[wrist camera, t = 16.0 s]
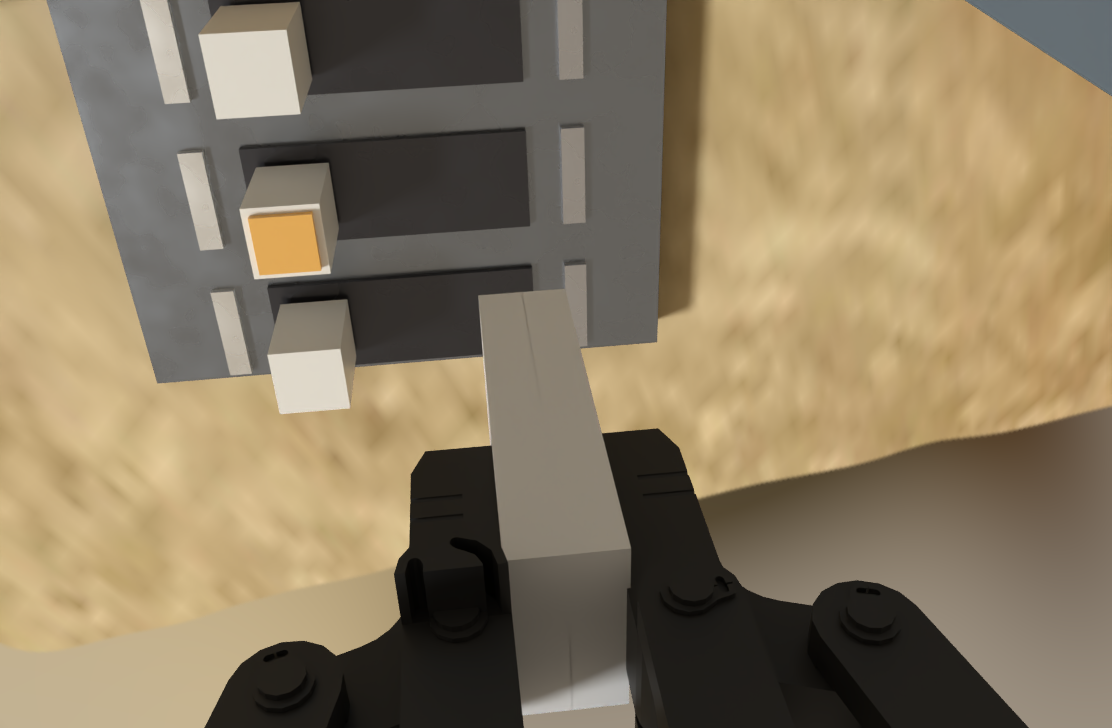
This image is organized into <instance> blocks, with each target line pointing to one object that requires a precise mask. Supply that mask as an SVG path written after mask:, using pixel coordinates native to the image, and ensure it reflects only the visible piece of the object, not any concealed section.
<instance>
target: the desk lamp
mask: <svg viewBox="0 0 1112 728" xmlns="http://www.w3.org/2000/svg"><path fill="white" fill-rule="evenodd" d="M965 1H967V2H968V3H970V4H971V5H973V6H974V7H976V8H977V9H979V10H980V11H982V12H983V13H985V14H987V15H988V16H990V17H991V18H993V19H994V20H996V21H997V22H999V23H1000V24H1002V25H1003V26H1005V27H1006V28H1008V29H1010V30H1011V31H1013V32H1014V33H1016V34H1017V35H1019V36H1020V37H1022V38H1023V39H1025V40H1026V41H1028V42H1029V43H1031V44H1032V45H1034V46H1036V47H1037V48H1039V49H1040V50H1042V51H1043V52H1045V53H1046V54H1048V55H1049V56H1051V57H1052V58H1054V59H1055V60H1057V61H1059V62H1060V63H1062V64H1063V65H1065V66H1066V67H1068V68H1069V69H1071V70H1072V71H1074V72H1075V73H1077V74H1078V75H1080V76H1081V77H1083V78H1085V79H1086V80H1088V81H1089V82H1091V83H1092V84H1094V85H1095V86H1097V87H1098V88H1100V89H1101V90H1103V91H1104V92H1106V93H1108V94H1109V95H1111V96H1112V0H965Z"/></svg>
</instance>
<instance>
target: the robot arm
mask: <svg viewBox="0 0 1112 728" xmlns="http://www.w3.org/2000/svg"><path fill="white" fill-rule="evenodd" d="M478 299H479V311H480V324H481V336H482V349H483V361H484V374H485V386H486V399H487V411H488V424H489V435H490V446H482V447H470V448H459V449H448V450H437V451H426V452H425V453H424V455H423V456H422V458H421V459H420V461H419V462H418V464H417V466H416V467H415V469H414V470H413V472H412V473H411V497H410V499H411V504H410V545H409V548H408V549H407V551H406V552H405V553H404V554H403V555H402V556H401V557H400V558H399V560H398V563H397V566H396V570H395V573H394V577H395V584H396V590H397V596H398V603H399V609H400V615H401V617H400V619H399V620H398V621H397V622H396V623H395V625H393V627H392V628H391V629H390V630H389V631H387V632H386V633H384V634H383V635H382V636H380V637H379V638H378V639H376V640H374V641H372V642H370V643H368V644H366V645H364V646H362V647H359V648H357V649H354V650H351V651H348V652H346V653H343V654H340V655H338V656H335V655H334V654H333V653H332V652H330V651H329V650H328V649H327V648H325V647H324V646H322V645H318V644H314V643H310V642H307V641H296V642H295V641H294V642H282V643H279V644H276V645H273V646H271V647H268V648H265V649H262V650H260V651H258V652H257V653H256V654H254V655H253V656H251V657H250V658H249V659H247V660H246V661H244V662H243V663H242V664H241V665H240V666H239V667H238V669H237V670H236V671H235V673H234V674H233V675H232V676H231V678H230V679H229V680H228V682H227V684H226V686H225V688H224V690H223V692H222V694H221V696H220V698H219V700H218V702H217V704H216V706H215V708H214V710H213V712H212V714H211V716H210V718H209V720H208V722H207V724H206V726H205V728H524V726H523V716H522V715H530V714H539V713H549V712H558V711H566V710H576V709H584V708H594V707H603V706H612V705H621V704H629V685H630V690H631V694H632V699H633V704H634V708H635V728H1028V727H1027V725H1026V724H1025V723H1024V722H1023V721H1022V720H1021V719H1020V718H1019V717H1018V716H1017V715H1016V713H1015V712H1014V711H1012V709H1011V708H1010V707H1009V706H1008V705H1007V704H1006V703H1005V701H1004V700H1003V699H1002V698H1001V697H1000V696H999V695H998V694H997V693H996V692H995V691H994V689H993V688H991V686H990V685H989V684H988V683H987V682H986V681H985V680H984V679H983V677H981V675H980V674H979V673H978V672H977V671H976V670H975V669H974V668H973V667H972V666H971V664H970V663H969V662H968V661H967V660H966V659H965V658H964V657H963V656H962V655H961V654H960V652H959V651H958V650H957V649H956V648H955V647H954V646H953V645H952V644H951V643H950V642H949V641H948V639H947V638H946V637H945V636H944V635H943V634H942V633H941V632H940V631H939V630H938V629H937V628H936V626H935V625H934V624H933V623H932V622H931V621H930V620H929V619H928V618H927V617H926V616H925V614H924V613H923V612H922V611H921V610H920V609H919V608H918V607H917V606H916V605H915V604H914V603H913V602H911V601H910V600H909V599H907V598H906V597H905V596H904V595H902V594H901V593H900V592H898V591H895V590H893V589H891V588H888V587H886V586H884V585H881V584H878V583H871V582H864V581H858V580H857V581H849V582H842V583H837V584H835V585H833V586H831V587H829V588H827V589H825V590H824V591H822V592H821V593H820V595H819V596H818V598H817V599H816V601H815V602H814V603H813V606H811V605H805V604H798V603H791V602H784V601H778V600H774V599H770V598H766V597H762V596H760V595H757V594H755V593H753V592H750V591H748V590H747V589H745V588H744V587H742V586H741V584H740V583H739V581H738V580H737V578H736V577H735V575H734V574H732V573H731V572H729V571H728V570H726V569H725V568H723V566H722V565H721V563H720V561H719V558H718V555H717V553H716V550H715V547H714V544H713V541H712V539H711V536H710V533H709V530H708V527H707V524H706V522H705V519H704V516H703V513H702V511H701V508H700V505H699V502H698V499H697V497H696V494H694V488H693V485H692V483H691V480H690V477H689V475H688V474H687V469H686V466H685V463H684V460H683V458H682V455H681V452H680V449H679V447H678V446H677V445H676V444H674V443H673V442H672V441H671V440H670V439H669V438H668V437H667V436H666V435H665V434H664V433H663V432H661V431H660V430H659V429H647V430H635V431H624V432H613V433H602V432H601V428H600V424H599V420H598V416H597V412H596V408H595V405H594V401H593V397H592V393H591V389H590V385H589V381H588V377H587V373H586V369H585V365H584V361H583V357H582V353H581V349H580V346H579V342H578V338H577V334H576V330H575V326H574V322H573V318H572V314H571V310H570V306H569V302H568V298H567V294H566V291H565V289H555V290H542V291H529V292H516V293H504V294H491V295H478Z"/></svg>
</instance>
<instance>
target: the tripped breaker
mask: <svg viewBox="0 0 1112 728" xmlns="http://www.w3.org/2000/svg"><path fill="white" fill-rule="evenodd" d="M239 210H240V215H241V219H242V224H243V229H244V233H245V238H246V243H247V248H248V252H249V257H250V262H251V266H252V271H253V276H254V279H266V278H280V277H293V276H306V275H320V274H331V270H332V264H333V259H334V253H335V248H336V242H337V236H338V231H339V225H338V219H337V213H336V206H335V200H334V194H333V187H332V181H331V175H330V168H329V163H316V164H301V165H286V166H271V167H256V169H255V171H254V174H253V176H252V179H251V181H250V184H249V186H248V189H247V191H246V194H245V196H244V199H243V201H242V204H241V206H240V209H239Z"/></svg>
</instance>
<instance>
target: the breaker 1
mask: <svg viewBox="0 0 1112 728" xmlns="http://www.w3.org/2000/svg"><path fill="white" fill-rule="evenodd" d="M198 36H199V40H200V45H201V49H202V54H203V59H204V63H205V68H206V73H207V77H208V82H209V87H210V91H211V96H212V101H213V105H214V110H215V114H216V119H231V118H247V117H263V116H279V115H295V114H301V112H302V109H303V106H304V103H305V100H306V97H307V94H308V91H309V88H310V85H311V82H312V75H311V68H310V62H309V56H308V50H307V43H306V37H305V31H304V25H303V18H302V12H301V6H300V2H289V3H270V4H252V5H233V6H220V7H219V9H218V10H217V11H216V13H215V14H214V15H213V16H212V18H211V19H210V20H209V22H208V23H207V24H206V25H205V27H204V28H203V29H202V30H201V32H200V33H199V34H198Z"/></svg>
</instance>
